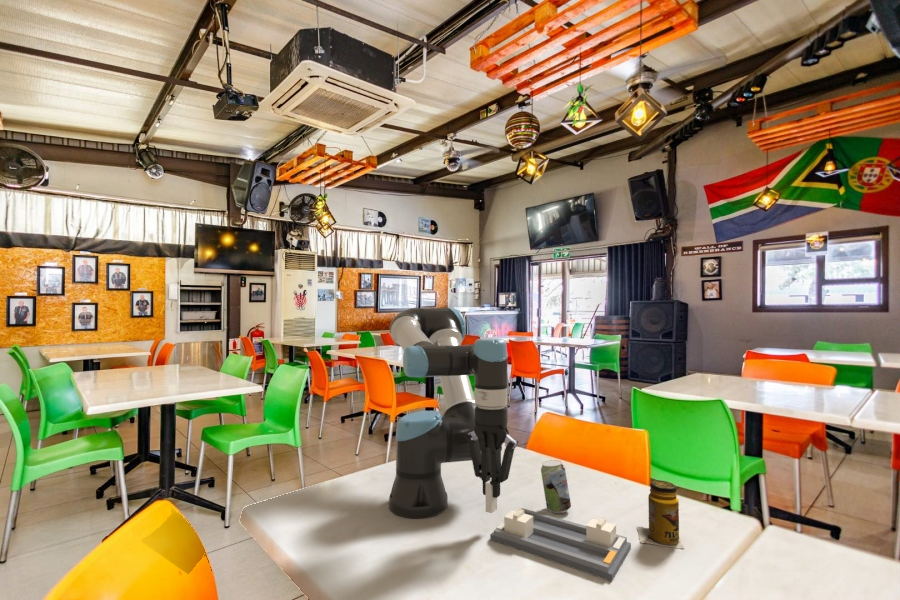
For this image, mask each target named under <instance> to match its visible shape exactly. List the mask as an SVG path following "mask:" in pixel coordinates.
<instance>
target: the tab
mask: <svg viewBox="0 0 900 600" xmlns="http://www.w3.org/2000/svg"><path fill="white" fill-rule="evenodd" d="M519 509H520V510H519ZM519 509H518V510H519V511H518V510H513V509H512V510H511V511H509V512H508V513H507V514H506V515H505V516H504V519H503V520H504V521H503V522H504V531H506V532H509V533H512V534H516V535H519V536H522V537H525V538H528V537H529V536H530V535H531V534H532V533H533V516H531V515H528V514H524V510H521V509H522V508H519Z"/></svg>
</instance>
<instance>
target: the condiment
mask: <svg viewBox="0 0 900 600" xmlns="http://www.w3.org/2000/svg"><path fill="white" fill-rule="evenodd" d="M649 486H650V488H649V491H650V493H649V494H648V499H647V500H648V527H644V526H637V527H636V528H637V533H638V537H639V542H640V543H642V544H648V545H656V546H661V547H667V548H668V547H669V548H672V549H673V548H674V549H682V550H683V549H684V546H683V543H682V541H681V538H680V515H679V514H680V513H679V511H680V509H679V506H680V503H679V498H678V497H677V496H678V495H677V494H678V493H677V487H676V485H675V484H674V483H672V482H670V481H667V480H666V481H665V480H653V481H650V483H649Z"/></svg>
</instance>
